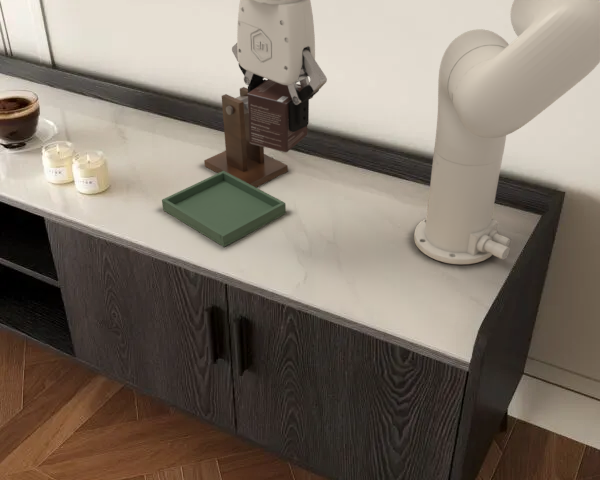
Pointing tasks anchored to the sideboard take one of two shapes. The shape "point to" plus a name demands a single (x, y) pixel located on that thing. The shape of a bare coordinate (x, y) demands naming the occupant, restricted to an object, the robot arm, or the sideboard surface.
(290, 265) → the sideboard surface
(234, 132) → the brown lever stand
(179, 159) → the sideboard surface
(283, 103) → the box
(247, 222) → the square tray
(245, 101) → the lever handle
